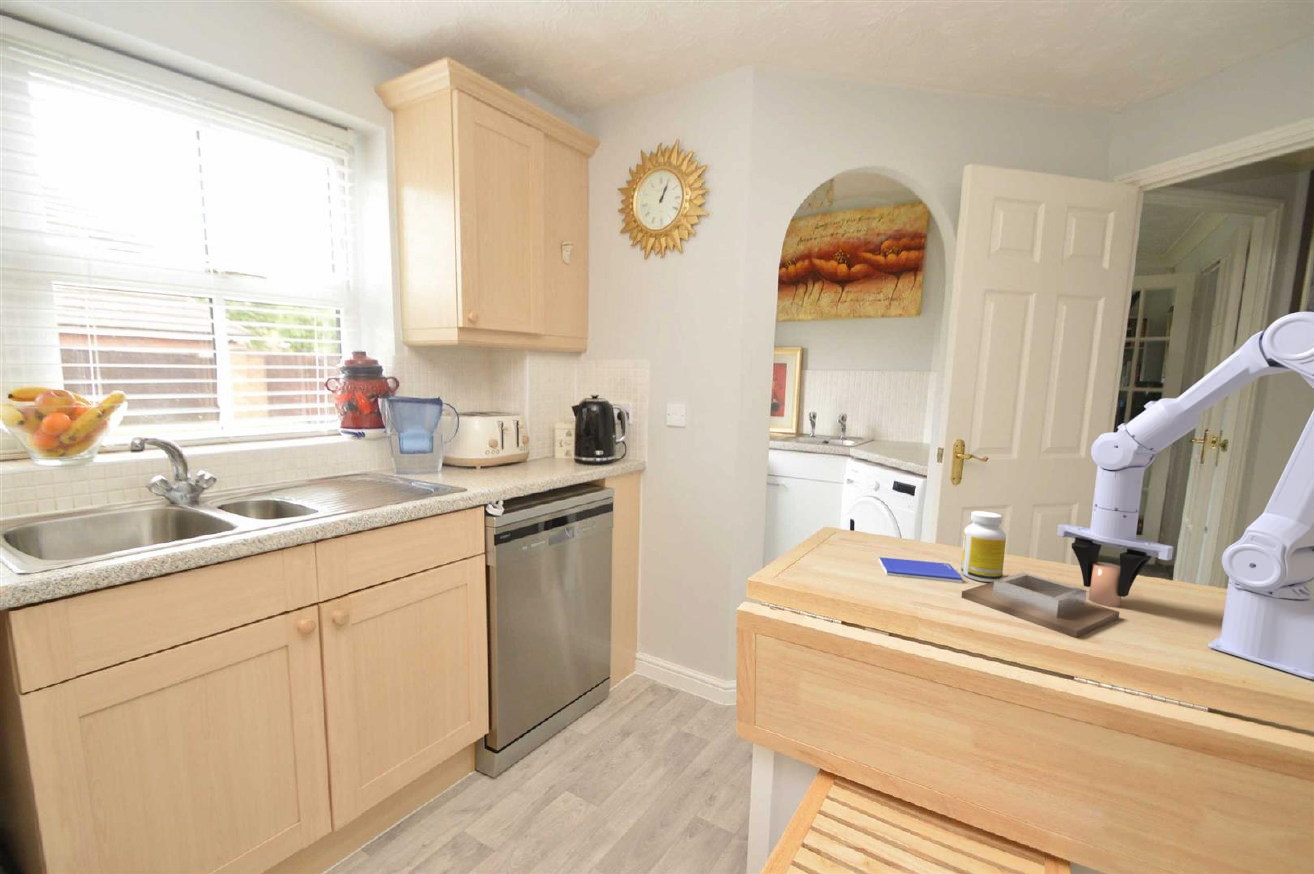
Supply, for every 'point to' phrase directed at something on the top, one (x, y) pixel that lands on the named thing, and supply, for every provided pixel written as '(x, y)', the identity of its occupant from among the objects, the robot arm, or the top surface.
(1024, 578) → the steel collar
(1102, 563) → the terracotta peg
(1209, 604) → the top surface
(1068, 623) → the mount board
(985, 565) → the pill bottle
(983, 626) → the top surface
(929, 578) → the hard drive
